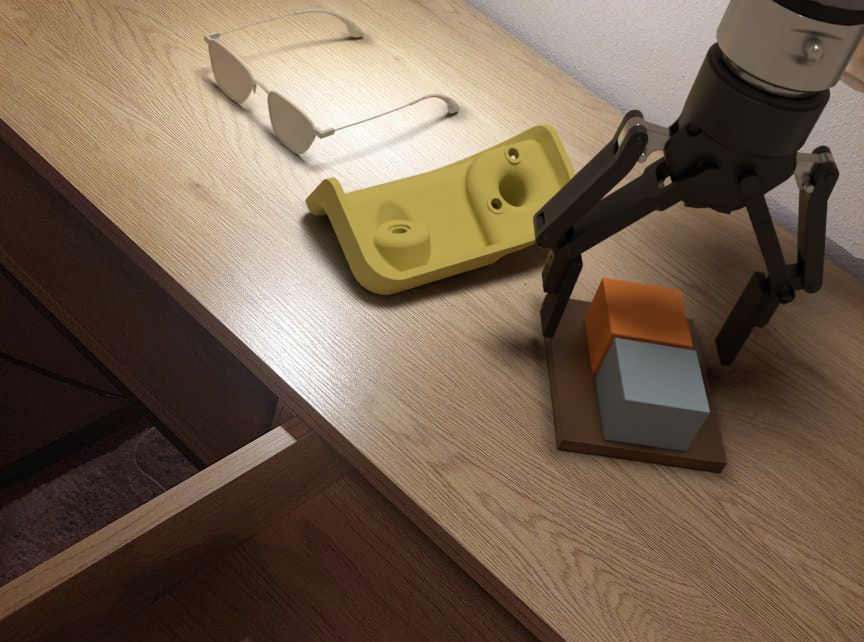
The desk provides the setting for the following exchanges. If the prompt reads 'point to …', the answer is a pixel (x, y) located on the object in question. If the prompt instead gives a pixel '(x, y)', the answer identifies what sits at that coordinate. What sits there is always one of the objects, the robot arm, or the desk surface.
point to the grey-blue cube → (651, 395)
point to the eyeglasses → (283, 113)
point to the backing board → (581, 404)
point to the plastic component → (446, 213)
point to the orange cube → (634, 317)
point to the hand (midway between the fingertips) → (635, 339)
